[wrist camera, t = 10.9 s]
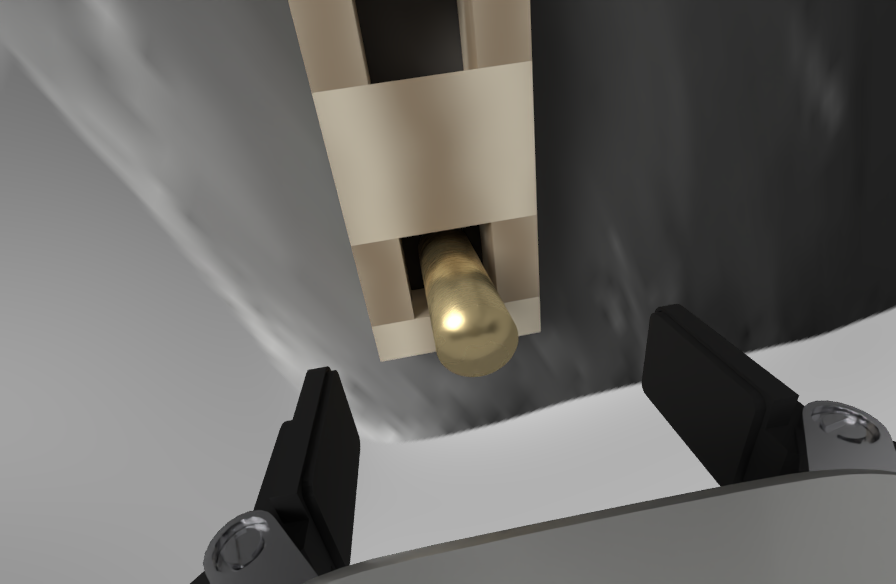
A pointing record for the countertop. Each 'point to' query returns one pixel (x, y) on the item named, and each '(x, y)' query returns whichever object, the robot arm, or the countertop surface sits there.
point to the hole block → (430, 159)
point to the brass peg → (464, 306)
